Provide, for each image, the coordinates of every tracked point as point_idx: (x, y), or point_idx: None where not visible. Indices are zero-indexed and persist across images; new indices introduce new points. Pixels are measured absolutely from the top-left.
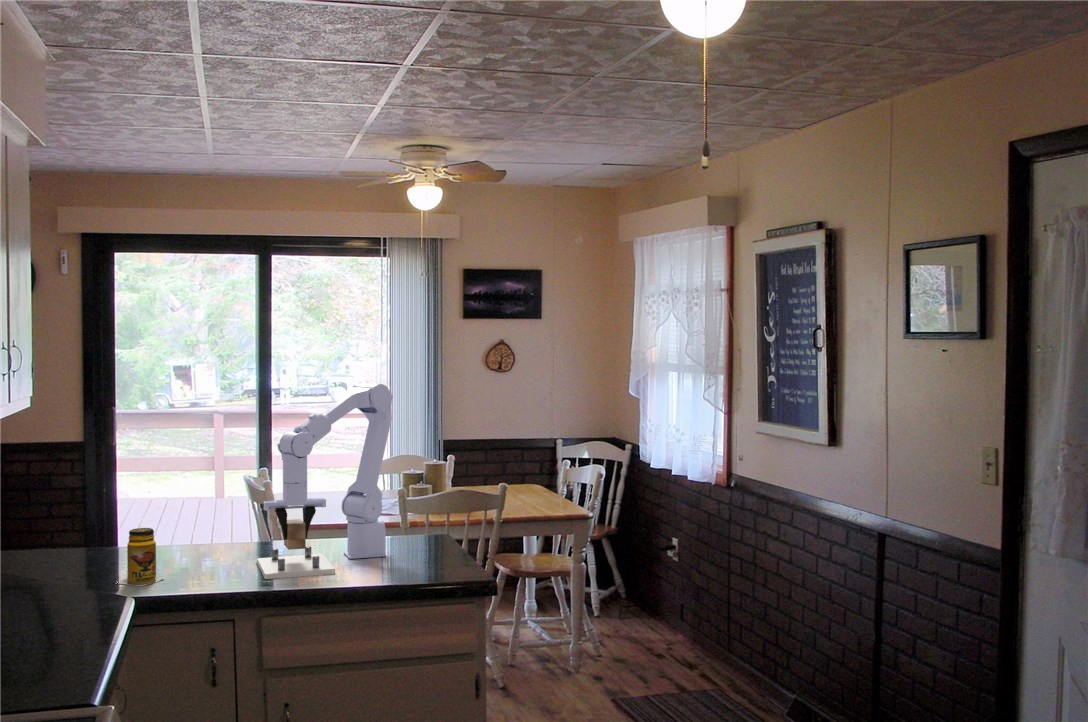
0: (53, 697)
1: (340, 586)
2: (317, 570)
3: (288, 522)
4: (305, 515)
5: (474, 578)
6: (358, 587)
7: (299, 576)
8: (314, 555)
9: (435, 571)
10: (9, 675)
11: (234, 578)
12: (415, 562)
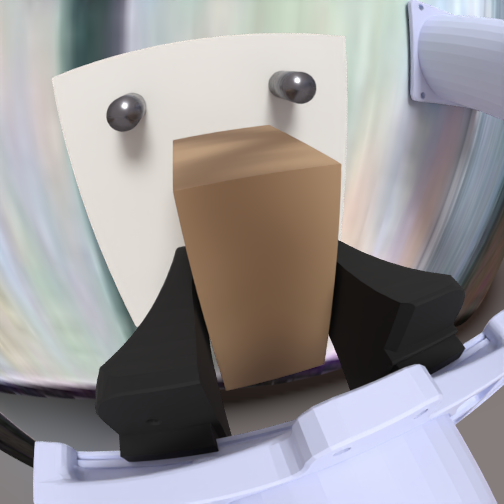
0: None
1: None
2: None
3: (224, 334)
4: (349, 382)
5: (475, 303)
6: (336, 361)
7: None
8: (311, 58)
9: (473, 264)
10: None
11: (49, 296)
12: (490, 187)
